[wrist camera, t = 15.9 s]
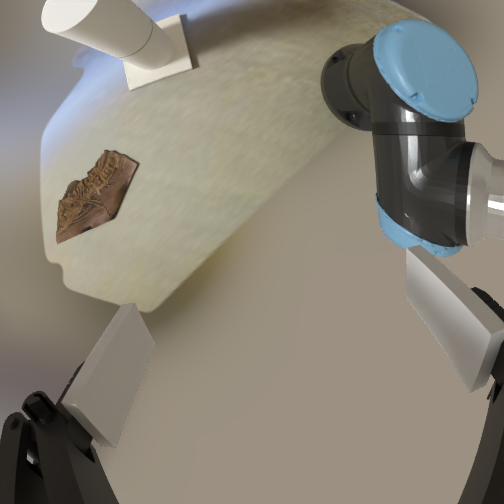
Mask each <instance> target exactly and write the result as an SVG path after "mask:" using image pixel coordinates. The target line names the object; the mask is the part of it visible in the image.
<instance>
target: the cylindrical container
mask: <svg viewBox="0 0 504 504" xmlns="http://www.w3.org/2000/svg"><path fill="white" fill-rule="evenodd" d="M42 24H43V27H44V28H45V29H46V30H47V31H49V32H52V33H55V34H57V35H60V36H63V37H66V38H69V39H72V40H74V41H77V42H80V43H82V44H85V45H87V46H90V47H92V48H95V49H97V50H100V51H102V52H105V53H107V54H109V55H112V56H114V57H117V58H119V59H121V60H123V61H126V62H128V63H130V64H132V65H135V66H137V67H139V68H141V69H143V70H156V69H159V68H161V67H162V66H164V65H165V64H166V63H167V62H168V61H169V60H170V59H171V57H172V55H173V52H174V43H173V41H172V39H171V38H170V36H168V35H167V34H166V33H165V32H164V31H163V30H162V29H161V28H160V27H159V26H158V25H157V24H156V23H155V22H154V21H153V20H152V19H151V18H150V17H149V16H147V15H146V14H145V13H144V12H143V11H142V10H141V9H140V8H139V7H138V6H137V5H136V4H134V3H133V2H132V1H131V0H47V1H46V3H45V5H44V8H43V11H42Z"/></svg>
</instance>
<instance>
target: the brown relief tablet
mask: <svg viewBox="0 0 504 504" xmlns="http://www.w3.org/2000/svg"><path fill="white" fill-rule="evenodd" d="M137 164H139V163H137V162H136V161H134V160H132V159H131V158H129V157H128V156H127V155H125V154H121V155H120V154H118V153H116V152H115V151H110V152H109V151H106V150H104V153H103V154H102V155H101V157H100V158H99V159H98V161H97V162H96V166H95V167H93V168H92V169H91V170H90V171H88V172H87V174H88V177H86V178H84V179H82V180H81V181H80V182H79V181H73V182H72V183H70V185H68V188H67V190H66V193H65V195H64V197H63V199H62V200H60V201H59V207H58V221H57V231H56V241H57V244H59V243H61V242H63V241H65V240H67V239H70V238H72V237H74V236H76V235H78V234H81V233H83V232H85V231H88V230H90V229H93V228H95V227H97V226H99V225H101V224H103V223H106V222H108V221H110V220H112V219H114V217H115V213H116V211H117V208H118V206H119V204H120V201H121V199H122V197H123V195H124V192H125V190H126V188H127V186H128V184H129V181H130V179H131V177H132V175H133V173H134V170H135V168H136V166H137ZM110 216H111V218H112V219H111V218H110Z"/></svg>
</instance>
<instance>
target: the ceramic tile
mask: <svg viewBox="0 0 504 504" xmlns="http://www.w3.org/2000/svg"><path fill="white" fill-rule="evenodd" d="M155 23H156V24H157V25H158V26H159V27H160V28H161V29H162V30H163V31H164V32H165V33H166V34H167V35H168V36H170V38H171V39H172V41H173V43H174V52H173V55H172V57H171V59H170V60H169V61H168V62H167V63H166V64H165V65H164V66H162V67H161V68H159V69H156V70H143V69H141V68H139V67H137V66H135V65H132V64H130V63H128V62H126V61H123V63H124V68H125V73H126V77H127V82H128V87H129V91H133V90H136V89H138V88H141V87H143V86H146V85H148V84H151V83H154V82H157V81H159V80H162V79H165V78H168V77H171V76H174V75H177V74H180V73H183V72H186V71H189V70H192V69H193V66H192V62H191V58H190V54H189V50H188V46H187V42H186V38H185V34H184V30H183V26H182V22H181V17H180V15H179V14H177V15H174V16H171V17H168V18H165V19H163V20H160V21H157V22H155Z"/></svg>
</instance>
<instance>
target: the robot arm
mask: <svg viewBox="0 0 504 504" xmlns="http://www.w3.org/2000/svg"><path fill="white" fill-rule="evenodd" d="M321 90H322V94H323V97H324V100H325V102H326V104H327V106H328V107H329V109H330V110H331V112H332V113H333V114H334V115H335V116H336V117H337V118H338V119H339V120H340V121H342V122H343V123H345V124H346V125H348V126H350V127H352V128H355V129H358V130H362V131H372V136H373V146H374V157H375V169H376V182H377V193H376V203H377V205H378V214H379V224H380V227H381V228H382V230H383V232H384V234H385V235H386V237H387V238H388V239H390V240H391V241H392V242H393V243H394V244H396V245H398V246H399V247H401V248H403V249H405V250H407V276H406V278H407V279H406V299H407V300H408V302H409V303H410V304H411V306H412V307H413V308H414V310H415V311H416V312H417V314H418V315H419V316H420V318H421V319H422V321H423V322H424V323H425V325H426V326H427V328H428V329H429V330H430V332H431V333H432V335H433V336H434V338H435V339H436V340H437V342H438V343H439V345H440V346H441V348H442V349H443V351H444V352H445V354H446V355H447V357H448V358H449V360H450V361H451V363H452V364H453V366H454V368H455V369H456V371H457V372H458V374H459V375H460V377H461V378H462V380H463V382H464V383H465V385H466V387H467V388H468V390H469V392H470V393H471V392H473V391H475V390H477V389H479V388H481V387H483V386H485V385H486V383H487V381H488V379H489V377H490V374H492V376H493V378H494V379H495V382H494V384H493V386H492V388H491V390H490V392H489V394H488V397H487V399H489V398H490V396H491V398H490V403H489V408H488V413H487V417H486V422H485V426H484V430H483V433H482V437H481V441H480V444H479V448H478V451H477V454H476V457H475V460H474V463H473V466H472V469H471V472H470V475H469V478H468V480H467V483H466V485H465V488H464V490H463V493H462V495H461V498H460V500H459V502H458V504H504V309H503V308H502V307H501V306H499V304H498V303H497V302H496V301H495V300H494V301H493V299H492V297H490V295H488V294H487V293H486V292H485V291H483V290H481V289H478V288H476V287H474V288H471V289H470V288H469V287H468V286H467V285H466V284H465V283H463V282H462V281H461V280H460V279H459V278H458V277H457V276H456V275H455V274H454V273H453V272H451V271H450V270H449V269H448V268H447V267H446V266H445V265H444V264H442V263H441V262H440V261H439V260H438V259H437V258H435V257H434V255H438V256H440V257H448V256H452V255H454V254H456V253H458V252H459V251H460V249H461V248H462V247H463V245H466V246H469V247H474V246H475V245H476V244H478V243H479V242H480V241H482V240H483V239H484V238H487V237H490V238H494V239H498V240H502V241H504V161H503V160H498V159H494V158H493V157H491V155H490V154H489V153H488V152H487V150H486V149H485V148H484V147H483V146H482V144H480V143H475V142H467V141H466V139H465V127H464V118H465V117H466V116H467V115H469V114H470V113H471V112H472V110H473V104H474V103H476V102H477V98H478V80H477V75H476V72H475V69H474V66H473V64H472V62H471V60H470V58H469V56H468V54H467V53H466V51H465V50H464V49H463V47H462V46H461V45H460V44H459V43H458V42H456V41H455V40H454V39H453V38H452V37H451V35H450V34H449V33H448V32H446V31H445V30H443V29H442V28H440V27H439V26H437V25H435V24H432V23H430V22H427V21H424V20H418V19H406V20H402V21H399V22H397V23H394V24H392V25H389V26H386V27H384V28H383V29H381V30H380V31H379V32H378V34H377V35H375V36H374V37H373V38H371V39H370V40H369V41H367V42H366V43H365V44H351V45H348V46H345V47H343V48H341V49H339V50H338V51H336V52H335V53H334V54H333V55H332V56H331V57H330V58H329V59H328V60H327V62H326V63H325V65H324V67H323V70H322V74H321ZM154 348H155V343H154V341H153V339H152V337H151V335H150V333H149V331H148V329H147V327H146V325H145V323H144V321H143V319H142V317H141V315H140V313H139V311H138V309H137V306H136V304H135V303H129V304H123V305H122V306H121V307H120V309H119V310H118V312H117V313H116V315H115V316H114V318H113V319H112V321H111V322H110V324H109V325H108V327H107V328H106V330H105V331H104V333H103V334H102V336H101V337H100V339H99V340H98V342H97V344H96V345H95V347H94V348H93V350H92V352H91V353H90V355H89V356H88V358H87V359H86V361H84V362H83V363H82V364H81V365H80V366H79V367H78V368H77V370H76V371H75V373H74V375H73V378H71V379H70V381H69V384H68V385H67V386H66V388H65V390H64V391H63V393H62V395H61V396H60V398H59V400H58V402H57V403H56V405H54V403H53V402H52V401H51V400H50V399H49V397H48V396H47V395H46V394H45V393H44V392H42V391H37V392H34V393H32V394H31V395H29V396H28V397H27V398H26V399H25V401H24V403H23V405H22V410H23V411H24V412H25V413H26V414H27V415H28V416H29V418H30V419H31V420H27V419H26V418H25V417H24V415H23V414H22V413H20V412H15V413H13V414H11V415H10V416H8V417H7V419H6V420H5V423H4V425H3V430H2V435H1V440H0V504H119V503H118V501H117V499H116V497H115V495H114V493H113V490H112V488H111V486H110V484H109V482H108V479H107V477H106V475H105V472H104V470H103V468H102V465H101V463H100V460H99V458H98V456H97V453H96V450H95V448H94V447H93V446H92V445H91V441H92V439H93V438H94V439H95V440H96V441H97V442H98V443H99V444H100V445H101V446H104V447H112V448H116V446H117V443H118V440H119V438H120V435H121V432H122V429H123V427H124V423H125V421H126V419H127V416H128V413H129V410H130V408H131V405H132V403H133V400H134V398H135V395H136V392H137V390H138V387H139V385H140V382H141V380H142V377H143V375H144V372H145V370H146V367H147V365H148V363H149V360H150V358H151V355H152V353H153V351H154ZM27 454H28V455H29V456H30V457H31V458H33V459H34V461H33V464H31V463H30V462H29V461H28V460H27Z"/></svg>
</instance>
